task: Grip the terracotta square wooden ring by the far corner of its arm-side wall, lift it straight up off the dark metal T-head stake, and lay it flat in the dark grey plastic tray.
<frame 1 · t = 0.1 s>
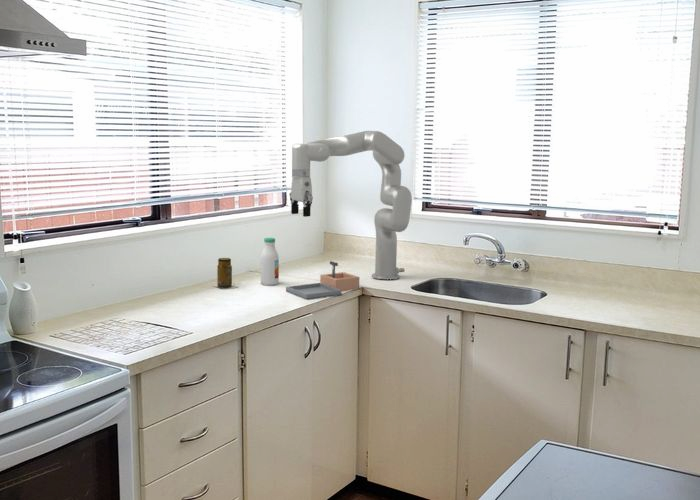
hand: (300, 215, 317), 31 cm above the worktop, fingers open, 9 cm apart
stake: (333, 288, 324), on the worktop
condiment: (225, 287, 323), on the worktop
tray: (313, 293, 314), on the worktop
milk bottle: (269, 284, 330), on the worktop
ring: (339, 287, 325), on the worktop
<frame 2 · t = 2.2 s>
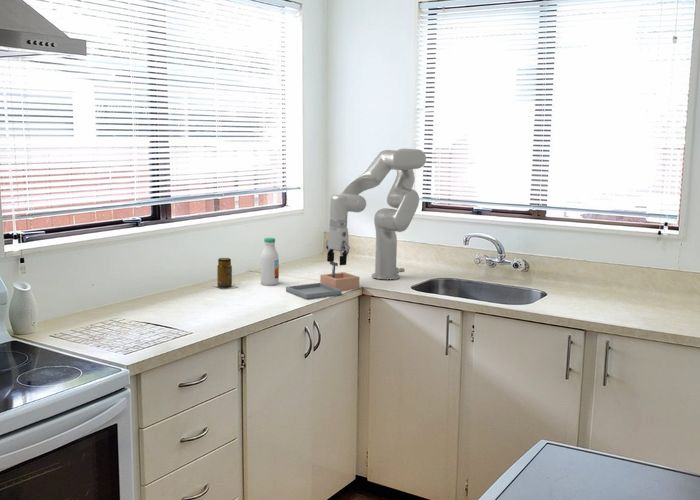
hand: (336, 263, 329), 9 cm above the worktop, fingers open, 9 cm apart
nothing on the worktop moved.
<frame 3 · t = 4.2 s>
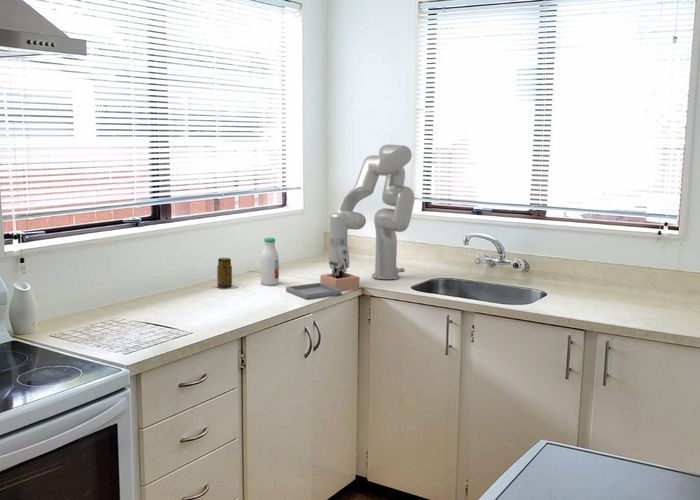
hand: (337, 283, 331), 1 cm above the worktop, fingers closed on ring
ring: (339, 287, 325), on the worktop, touching gripper
everything else where it was.
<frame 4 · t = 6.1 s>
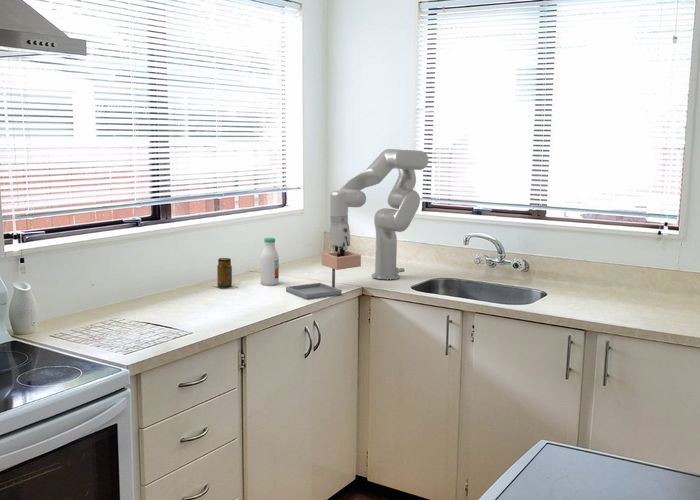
hand: (339, 261, 330), 10 cm above the worktop, fingers closed on ring
ring: (341, 265, 324), point 9 cm above the worktop, touching gripper
everything else where it was.
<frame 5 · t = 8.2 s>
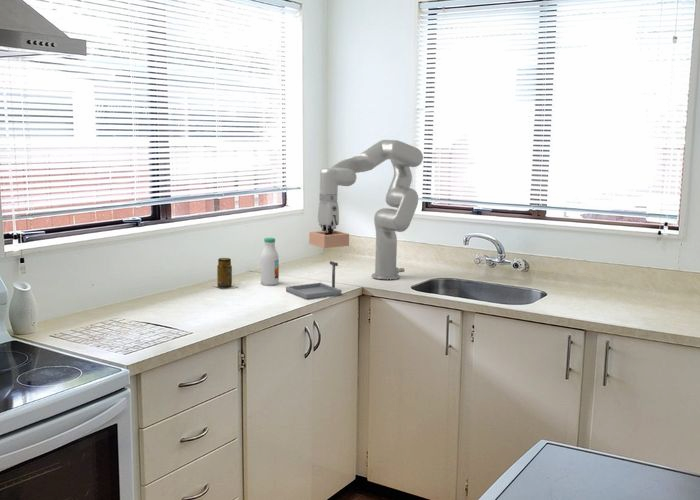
hand: (327, 241, 323), 20 cm above the worktop, fingers closed on ring
ring: (328, 244, 317), point 19 cm above the worktop, touching gripper
everything else where it was.
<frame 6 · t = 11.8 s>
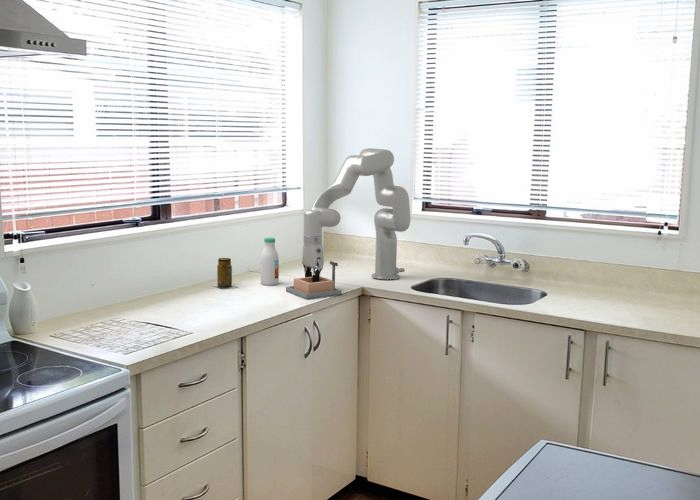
hand: (312, 282, 319), 3 cm above the worktop, fingers open, 5 cm apart
ring: (313, 291, 314), resting on tray
everything else where it was.
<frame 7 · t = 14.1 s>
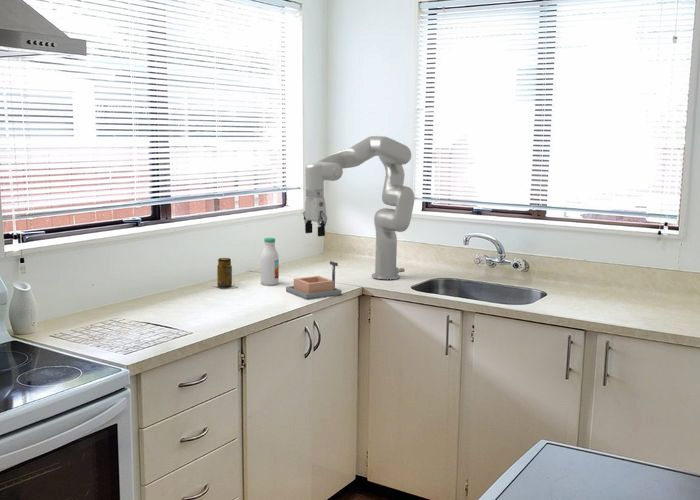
hand: (315, 234, 318), 23 cm above the worktop, fingers open, 9 cm apart
nothing on the worktop moved.
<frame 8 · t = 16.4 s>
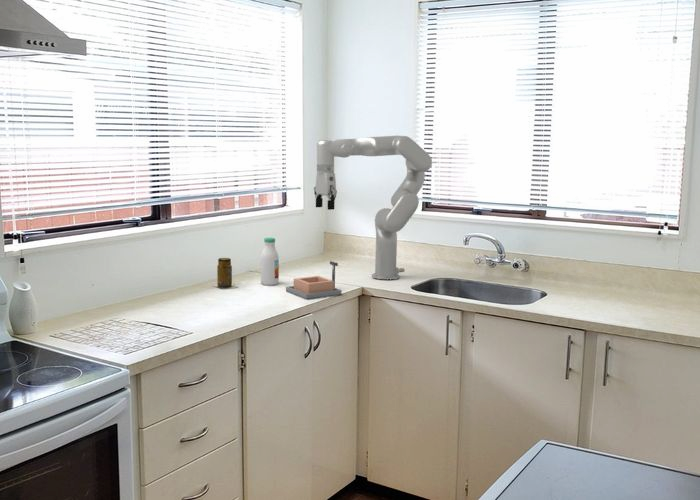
hand: (324, 208, 333), 32 cm above the worktop, fingers open, 9 cm apart
nothing on the worktop moved.
at the end: ring 0.5 cm off-centre on the tray, point 0.5 cm above the tray's base; ring tilted 0°; the gripper is holding nothing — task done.
